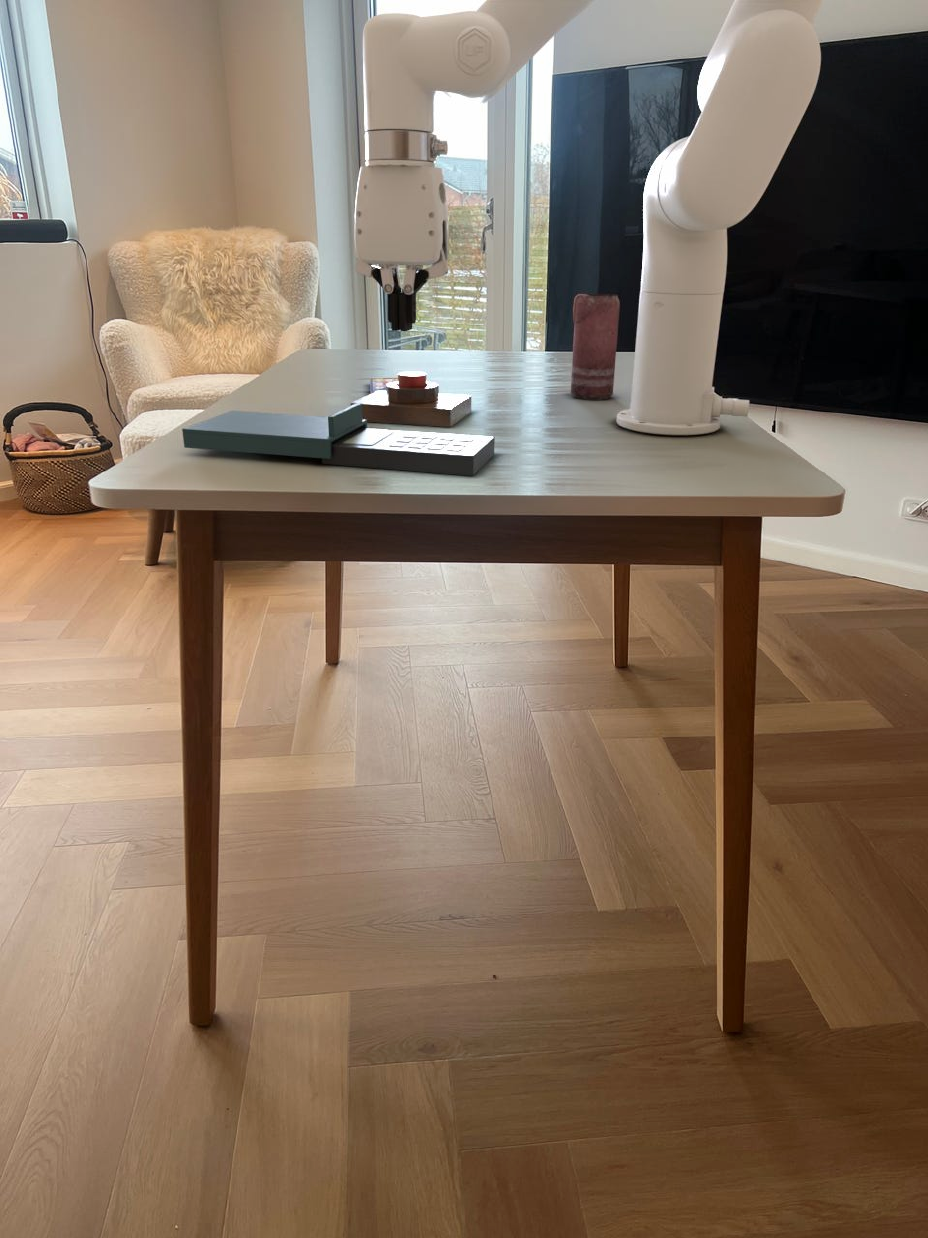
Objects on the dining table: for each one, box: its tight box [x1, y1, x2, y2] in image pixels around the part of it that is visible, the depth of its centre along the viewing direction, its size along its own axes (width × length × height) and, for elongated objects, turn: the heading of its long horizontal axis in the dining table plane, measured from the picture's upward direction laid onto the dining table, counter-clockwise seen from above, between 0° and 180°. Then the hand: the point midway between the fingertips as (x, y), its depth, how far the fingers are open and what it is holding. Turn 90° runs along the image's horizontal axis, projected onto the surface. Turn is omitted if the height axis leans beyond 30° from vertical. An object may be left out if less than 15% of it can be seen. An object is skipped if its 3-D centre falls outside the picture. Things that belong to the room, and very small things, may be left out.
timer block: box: [350, 380, 472, 428], centre depth 111 cm, size 13×10×4 cm
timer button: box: [397, 371, 427, 388], centre depth 110 cm, size 4×4×2 cm
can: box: [570, 293, 621, 401], centre depth 124 cm, size 6×6×14 cm
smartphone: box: [369, 377, 398, 394], centre depth 128 cm, size 1×7×15 cm
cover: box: [181, 403, 368, 459], centre depth 94 cm, size 17×10×4 cm, turn 75°
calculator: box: [321, 427, 496, 477], centre depth 91 cm, size 16×9×2 cm, turn 75°
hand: (402, 329), depth 102 cm, fingers closed
